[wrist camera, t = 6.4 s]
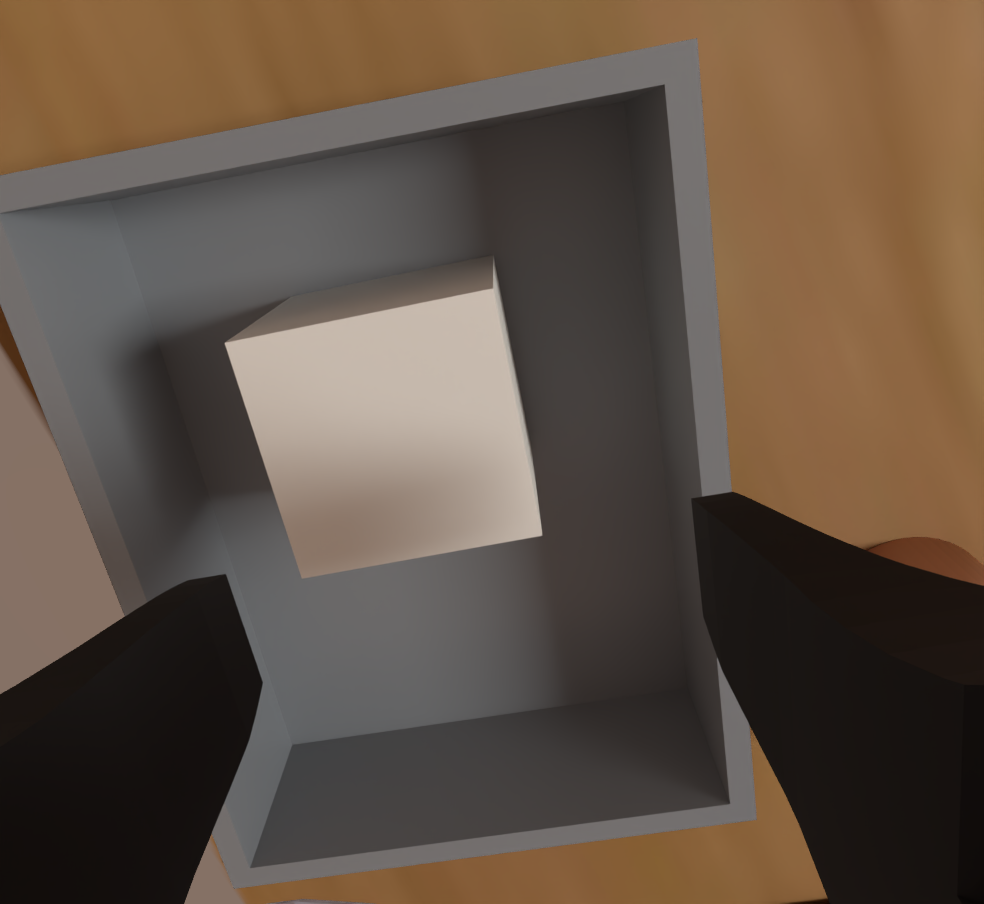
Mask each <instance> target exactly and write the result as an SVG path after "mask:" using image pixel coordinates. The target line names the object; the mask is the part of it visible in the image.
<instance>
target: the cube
mask: <svg viewBox="0 0 984 904" xmlns="http://www.w3.org/2000/svg"><path fill="white" fill-rule="evenodd" d="M225 346H226V349H227V352H228V355H229V358H230V361H231V364H232V367H233V370H234V373H235V376H236V379H237V383H238V386H239V389H240V392H241V395H242V398H243V401H244V404H245V407H246V410H247V413H248V416H249V419H250V422H251V425H252V428H253V431H254V434H255V437H256V440H257V444H258V447H259V450H260V453H261V456H262V459H263V462H264V465H265V468H266V471H267V474H268V477H269V480H270V483H271V486H272V489H273V492H274V495H275V498H276V501H277V504H278V508H279V511H280V514H281V517H282V520H283V523H284V526H285V529H286V532H287V535H288V538H289V541H290V544H291V547H292V550H293V553H294V556H295V559H296V562H297V565H298V569H299V572H300V575H301V578H302V579H303V578H309V577H314V576H320V575H325V574H331V573H337V572H342V571H348V570H353V569H359V568H365V567H370V566H376V565H381V564H387V563H392V562H398V561H404V560H409V559H415V558H420V557H426V556H431V555H437V554H443V553H448V552H454V551H459V550H465V549H471V548H476V547H482V546H487V545H493V544H498V543H504V542H510V541H515V540H521V539H526V538H532V537H537V536H542V528H541V520H540V512H539V504H538V496H537V489H536V481H535V473H534V465H533V457H532V449H531V444H530V439H529V434H528V429H527V423H526V418H525V413H524V408H523V403H522V398H521V393H520V388H519V383H518V378H517V373H516V367H515V362H514V357H513V352H512V347H511V342H510V337H509V332H508V327H507V322H506V317H505V312H504V306H503V301H502V296H501V291H500V286H499V281H498V276H497V271H496V266H495V261H494V256H493V255H491V256H486V257H481V258H476V259H471V260H467V261H462V262H457V263H452V264H447V265H442V266H438V267H433V268H428V269H423V270H418V271H413V272H408V273H404V274H399V275H394V276H389V277H384V278H379V279H375V280H370V281H365V282H360V283H355V284H350V285H346V286H341V287H336V288H331V289H326V290H321V291H317V292H312V293H307V294H302V295H297V296H292V297H290V298H289V299H287V300H286V301H284V302H283V303H281V304H280V305H278V306H277V307H276V308H274V309H273V310H271V311H270V312H268V313H267V314H265V315H264V316H263V317H261V318H260V319H258V320H257V321H255V322H254V323H253V324H251V325H250V326H248V327H247V328H245V329H244V330H242V331H241V332H240V333H238V334H237V335H235V336H234V337H232V338H231V339H229V340H228V341H227V342H225Z"/></svg>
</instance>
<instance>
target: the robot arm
mask: <svg viewBox="0 0 984 904" xmlns="http://www.w3.org/2000/svg"><path fill="white" fill-rule="evenodd" d="M691 503H692V513H693V523H694V533H695V543H696V552H697V562H698V572H699V582H700V591H701V601H702V611H703V617H704V620H705V623H706V626H707V629H708V632H709V635H710V638H711V641H712V644H713V647H714V650H715V652H716V655H717V658H718V661H719V663H720V666H721V669H722V671H723V673H724V676H725V678H726V680H727V682H728V684H729V686H730V688H731V690H732V691H733V693H734V695H735V697H736V699H737V701H738V703H739V705H740V707H741V709H742V711H743V713H744V715H745V717H746V719H747V721H748V723H749V725H750V727H751V729H752V731H753V733H754V734H755V736H756V738H757V740H758V742H759V744H760V746H761V748H762V750H763V752H764V754H765V756H766V758H767V760H768V762H769V764H770V765H771V767H772V769H773V771H774V773H775V775H776V777H777V779H778V781H779V783H780V785H781V787H782V789H783V791H784V793H785V795H786V797H787V799H788V801H789V803H790V805H791V808H792V810H793V812H794V814H795V816H796V819H797V821H798V823H799V825H800V828H801V830H802V833H803V835H804V838H805V841H806V843H807V846H808V848H809V851H810V853H811V856H812V859H813V861H814V864H815V866H816V869H817V871H818V874H819V877H820V879H821V882H822V884H823V887H824V889H825V892H826V895H827V897H828V900H829V903H830V904H984V586H983V585H978V584H974V583H970V582H966V581H962V580H958V579H954V578H950V577H947V576H943V575H940V574H937V573H933V572H930V571H926V570H923V569H919V568H916V567H913V566H909V565H906V564H903V563H900V562H897V561H894V560H891V559H888V558H885V557H882V556H879V555H877V554H874V553H872V552H869V551H866V550H864V549H861V548H859V547H856V546H853V545H851V544H848V543H846V542H843V541H841V540H838V539H836V538H834V537H831V536H829V535H827V534H824V533H822V532H820V531H818V530H815V529H813V528H811V527H809V526H807V525H804V524H802V523H800V522H798V521H796V520H794V519H792V518H789V517H787V516H785V515H783V514H781V513H779V512H777V511H775V510H773V509H771V508H769V507H767V506H764V505H762V504H760V503H758V502H756V501H754V500H752V499H750V498H747V497H745V496H743V495H740V494H738V493H735V492H727V493H721V494H715V495H709V496H703V497H697V498H691ZM262 686H263V681H262V678H261V675H260V672H259V669H258V666H257V663H256V661H255V658H254V655H253V652H252V649H251V646H250V643H249V640H248V637H247V634H246V631H245V628H244V625H243V622H242V620H241V617H240V614H239V611H238V608H237V605H236V602H235V599H234V596H233V593H232V590H231V587H230V584H229V581H228V579H227V576H226V574H222V575H216V576H210V577H204V578H197V579H191V580H187V581H185V582H183V583H181V584H178V585H176V586H174V587H172V588H171V589H169V590H167V591H165V592H163V593H162V594H160V595H158V596H157V597H155V598H153V599H152V600H150V601H148V602H147V603H145V604H144V605H142V606H140V607H139V608H137V609H136V610H134V611H133V612H131V613H130V614H128V615H126V616H125V617H123V618H122V619H120V620H119V621H117V622H116V623H114V624H113V625H111V626H110V627H108V628H107V629H105V630H103V631H102V632H100V633H99V634H97V635H96V636H94V637H93V638H91V639H90V640H88V641H87V642H85V643H84V644H82V645H80V646H79V647H77V648H76V649H74V650H73V651H71V652H69V653H68V654H66V655H64V656H63V657H61V658H60V659H58V660H56V661H55V662H53V663H51V664H50V665H48V666H46V667H45V668H43V669H42V670H40V671H38V672H37V673H35V674H34V675H32V676H31V677H29V678H27V679H25V680H24V681H22V682H20V683H19V684H17V685H16V686H14V687H12V688H10V689H9V690H7V691H5V692H3V693H2V694H0V904H184V902H185V900H186V897H187V894H188V891H189V888H190V886H191V883H192V880H193V878H194V875H195V872H196V870H197V867H198V865H199V863H200V860H201V858H202V855H203V853H204V851H205V848H206V846H207V843H208V841H209V839H210V836H211V834H212V831H213V829H214V826H215V824H216V822H217V819H218V817H219V814H220V812H221V810H222V807H223V805H224V802H225V800H226V797H227V795H228V793H229V790H230V788H231V785H232V783H233V780H234V778H235V775H236V773H237V770H238V768H239V765H240V763H241V760H242V758H243V755H244V753H245V750H246V748H247V745H248V742H249V740H250V736H251V732H252V728H253V724H254V721H255V717H256V713H257V708H258V704H259V699H260V695H261V690H262ZM269 904H373V903H357V902H342V901H326V900H311V899H299V900H292V901H284V902H277V903H269Z"/></svg>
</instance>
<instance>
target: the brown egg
mask: <svg viewBox="0 0 984 904" xmlns="http://www.w3.org/2000/svg"><path fill="white" fill-rule="evenodd" d="M867 551H869V552H872V553H874V554H877V555H879V556H882V557H885V558H888V559H891V560H894V561H897V562H900V563H903V564H906V565H909V566H913V567H916V568H919V569H923V570H926V571H930V572H933V573H937V574H940V575H943V576H947V577H950V578H954V579H958V580H962V581H966V582H970V583H974V584H978V585H983V586H984V565H983V564H981V563H980V562H979V561H978V560H977V559H976V558H974V557H973V556H972V555H971V554H970V553H968V552H967V551H966V550H964V549H962V548H961V547H959V546H957V545H955V544H952V543H950V542H947V541H944V540H940V539H935V538H928V537H912V538H903V539H898V540H893V541H889V542H886V543H883V544H880V545H878V546H876V547H873V548H871V549H869V550H867Z"/></svg>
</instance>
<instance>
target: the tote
mask: <svg viewBox="0 0 984 904" xmlns="http://www.w3.org/2000/svg"><path fill="white" fill-rule="evenodd" d="M491 255H493V256H494V261H495V266H496V271H497V276H498V281H499V286H500V291H501V296H502V301H503V306H504V312H505V317H506V322H507V327H508V332H509V337H510V342H511V347H512V352H513V357H514V362H515V367H516V373H517V378H518V383H519V388H520V393H521V398H522V403H523V408H524V413H525V418H526V423H527V429H528V434H529V439H530V444H531V449H532V457H533V465H534V473H535V481H536V489H537V496H538V504H539V512H540V520H541V528H542V536H537V537H532V538H526V539H521V540H515V541H510V542H504V543H498V544H493V545H487V546H482V547H476V548H471V549H465V550H459V551H454V552H448V553H443V554H437V555H431V556H426V557H420V558H415V559H409V560H404V561H398V562H392V563H387V564H381V565H376V566H370V567H365V568H359V569H353V570H348V571H342V572H337V573H331V574H325V575H320V576H314V577H309V578H303V579H302V578H301V575H300V572H299V569H298V565H297V562H296V559H295V556H294V553H293V550H292V547H291V544H290V541H289V538H288V535H287V532H286V529H285V526H284V523H283V520H282V517H281V514H280V511H279V508H278V504H277V501H276V498H275V495H274V492H273V489H272V486H271V483H270V480H269V477H268V474H267V471H266V468H265V465H264V462H263V459H262V456H261V453H260V450H259V447H258V444H257V440H256V437H255V434H254V431H253V428H252V425H251V422H250V419H249V416H248V413H247V410H246V407H245V404H244V401H243V398H242V395H241V392H240V389H239V386H238V383H237V379H236V376H235V373H234V370H233V367H232V364H231V361H230V358H229V355H228V352H227V349H226V346H225V342H227V341H228V340H229V339H231V338H232V337H234V336H235V335H237V334H238V333H240V332H241V331H242V330H244V329H245V328H247V327H248V326H250V325H251V324H253V323H254V322H255V321H257V320H258V319H260V318H261V317H263V316H264V315H265V314H267V313H268V312H270V311H271V310H273V309H274V308H276V307H277V306H278V305H280V304H281V303H283V302H284V301H286V300H287V299H289V298H290V297H292V296H297V295H302V294H307V293H312V292H317V291H321V290H326V289H331V288H336V287H341V286H346V285H350V284H355V283H360V282H365V281H370V280H375V279H379V278H384V277H389V276H394V275H399V274H404V273H408V272H413V271H418V270H423V269H428V268H433V267H438V266H442V265H447V264H452V263H457V262H462V261H467V260H471V259H476V258H481V257H486V256H491ZM0 305H1V307H2V310H3V312H4V315H5V317H6V320H7V322H8V325H9V327H10V330H11V332H12V335H13V337H14V340H15V342H16V345H17V347H18V350H19V352H20V355H21V357H22V360H23V362H24V365H25V367H26V370H27V372H28V375H29V377H30V380H31V382H32V385H33V387H34V390H35V392H36V395H37V397H38V400H39V402H40V405H41V407H42V410H43V412H44V415H45V417H46V420H47V422H48V425H49V427H50V430H51V432H52V435H53V437H54V440H55V442H56V445H57V447H58V450H59V452H60V455H61V457H62V460H63V462H64V465H65V467H66V470H67V472H68V475H69V477H70V480H71V482H72V485H73V487H74V490H75V492H76V495H77V497H78V500H79V503H80V505H81V507H82V510H83V513H84V515H85V517H86V520H87V522H88V525H89V528H90V530H91V533H92V535H93V538H94V540H95V543H96V545H97V548H98V550H99V553H100V555H101V558H102V560H103V563H104V565H105V568H106V570H107V573H108V575H109V578H110V580H111V582H112V585H113V587H114V590H115V593H116V595H117V598H118V600H119V603H120V605H121V607H122V610H123V612H124V615H125V616H126V615H128V614H130V613H131V612H133V611H134V610H136V609H137V608H139V607H140V606H142V605H144V604H145V603H147V602H148V601H150V600H152V599H153V598H155V597H157V596H158V595H160V594H162V593H163V592H165V591H167V590H169V589H171V588H172V587H174V586H176V585H178V584H181V583H183V582H185V581H187V580H191V579H197V578H204V577H210V576H216V575H222V574H226V576H227V579H228V581H229V584H230V587H231V590H232V593H233V596H234V599H235V602H236V605H237V608H238V611H239V614H240V617H241V620H242V622H243V625H244V628H245V631H246V634H247V637H248V640H249V643H250V646H251V649H252V652H253V655H254V658H255V661H256V663H257V666H258V669H259V672H260V675H261V678H262V681H263V686H262V690H261V695H260V699H259V704H258V708H257V713H256V717H255V721H254V724H253V728H252V732H251V736H250V740H249V742H248V745H247V748H246V750H245V753H244V755H243V758H242V760H241V763H240V765H239V768H238V770H237V773H236V775H235V778H234V780H233V783H232V785H231V788H230V790H229V793H228V795H227V797H226V800H225V802H224V805H223V807H222V810H221V812H220V814H219V817H218V819H217V822H216V824H215V826H214V829H213V831H212V835H213V838H214V840H215V843H216V845H217V848H218V850H219V853H220V855H221V858H222V860H223V863H224V865H225V868H226V870H227V873H228V875H229V878H230V880H231V883H232V885H233V888H234V889H235V888H243V887H251V886H258V885H266V884H273V883H281V882H288V881H296V880H304V879H311V878H319V877H326V876H334V875H342V874H349V873H357V872H364V871H372V870H379V869H387V868H395V867H402V866H410V865H417V864H425V863H432V862H440V861H448V860H455V859H463V858H470V857H478V856H486V855H493V854H501V853H508V852H516V851H523V850H531V849H539V848H546V847H554V846H561V845H569V844H576V843H584V842H592V841H599V840H607V839H614V838H622V837H630V836H637V835H645V834H652V833H660V832H667V831H675V830H683V829H690V828H698V827H705V826H713V825H721V824H728V823H736V822H743V821H751V820H757V819H756V805H755V792H754V779H753V766H752V753H751V740H750V727H749V723H748V721H747V719H746V717H745V715H744V713H743V711H742V709H741V707H740V705H739V703H738V701H737V699H736V697H735V695H734V693H733V691H732V690H731V688H730V686H729V684H728V682H727V680H726V678H725V676H724V673H723V671H722V669H721V666H720V663H719V661H718V658H717V655H716V652H715V650H714V647H713V644H712V641H711V638H710V635H709V632H708V629H707V626H706V623H705V620H704V617H703V611H702V601H701V591H700V582H699V572H698V562H697V552H696V543H695V533H694V523H693V513H692V503H691V498H697V497H703V496H709V495H715V494H721V493H727V492H732V490H731V477H730V464H729V451H728V437H727V424H726V411H725V398H724V385H723V372H722V359H721V345H720V332H719V319H718V306H717V293H716V280H715V267H714V253H713V240H712V227H711V214H710V201H709V188H708V175H707V161H706V148H705V135H704V122H703V109H702V96H701V83H700V69H699V56H698V43H697V38H696V39H691V40H686V41H681V42H675V43H670V44H665V45H660V46H655V47H650V48H645V49H640V50H635V51H630V52H625V53H620V54H615V55H610V56H604V57H599V58H594V59H589V60H584V61H579V62H574V63H569V64H564V65H559V66H554V67H549V68H544V69H538V70H533V71H528V72H523V73H518V74H513V75H508V76H503V77H498V78H493V79H488V80H483V81H478V82H472V83H467V84H462V85H457V86H452V87H447V88H442V89H437V90H432V91H427V92H422V93H417V94H412V95H406V96H401V97H396V98H391V99H386V100H381V101H376V102H371V103H366V104H361V105H356V106H351V107H346V108H340V109H335V110H330V111H325V112H320V113H315V114H310V115H305V116H300V117H295V118H290V119H285V120H280V121H274V122H269V123H264V124H259V125H254V126H249V127H244V128H239V129H234V130H229V131H224V132H219V133H214V134H208V135H203V136H198V137H193V138H188V139H183V140H178V141H173V142H168V143H163V144H158V145H153V146H148V147H142V148H137V149H132V150H127V151H122V152H117V153H112V154H107V155H102V156H97V157H92V158H87V159H82V160H76V161H71V162H66V163H61V164H56V165H51V166H46V167H41V168H36V169H31V170H26V171H21V172H16V173H10V174H5V175H0Z"/></svg>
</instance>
